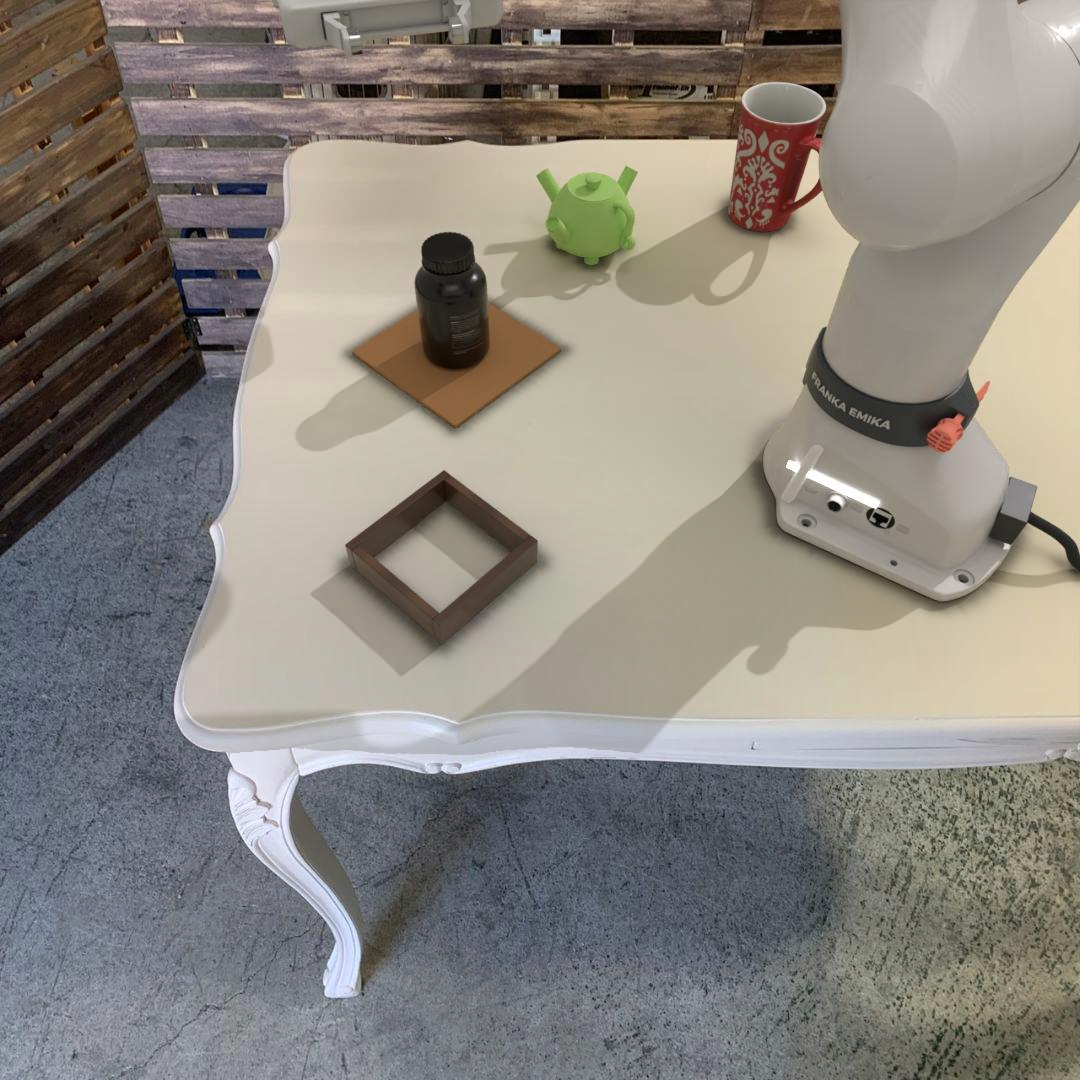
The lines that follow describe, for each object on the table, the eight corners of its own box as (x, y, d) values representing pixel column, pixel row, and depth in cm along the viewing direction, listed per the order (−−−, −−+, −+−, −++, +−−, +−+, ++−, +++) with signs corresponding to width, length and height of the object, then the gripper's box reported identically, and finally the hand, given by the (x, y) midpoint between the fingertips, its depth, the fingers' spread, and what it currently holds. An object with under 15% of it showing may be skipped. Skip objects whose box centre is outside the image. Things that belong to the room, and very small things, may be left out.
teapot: (644, 274, 99) (653, 205, 92) (540, 277, 99) (542, 208, 92) (631, 215, 106) (639, 147, 99) (534, 217, 105) (535, 148, 98)
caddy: (537, 561, 76) (538, 540, 73) (442, 645, 71) (439, 625, 68) (446, 491, 80) (444, 469, 78) (350, 565, 75) (344, 544, 73)
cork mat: (561, 351, 91) (561, 348, 91) (455, 428, 85) (455, 425, 84) (458, 286, 97) (458, 283, 97) (351, 354, 91) (351, 351, 90)
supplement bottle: (494, 329, 93) (491, 227, 83) (485, 374, 89) (480, 273, 79) (428, 324, 93) (417, 221, 83) (416, 369, 89) (403, 267, 79)
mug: (703, 206, 107) (724, 94, 96) (760, 184, 110) (787, 73, 99) (774, 262, 101) (805, 149, 90) (833, 237, 104) (869, 124, 93)
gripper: (260, -52, 81) (278, 16, 73) (479, -73, 85) (519, -11, 77) (275, 22, 86) (294, 93, 78) (481, -1, 90) (519, 64, 82)
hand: (407, 41), depth 78 cm, fingers open, 8 cm apart
